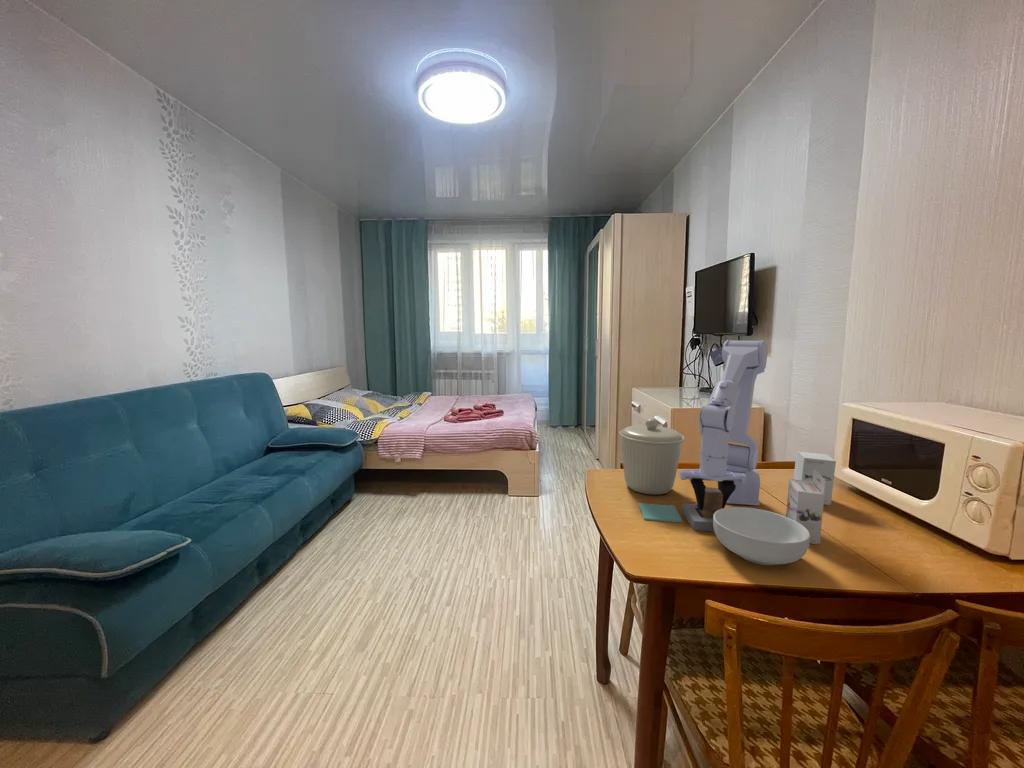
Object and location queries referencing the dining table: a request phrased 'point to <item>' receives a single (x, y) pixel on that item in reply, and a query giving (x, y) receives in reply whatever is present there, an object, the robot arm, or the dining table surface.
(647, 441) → the canister
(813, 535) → the ink box
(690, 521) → the pocket plate
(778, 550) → the cereal bowl
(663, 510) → the mat
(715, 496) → the walnut block
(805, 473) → the supplement box
